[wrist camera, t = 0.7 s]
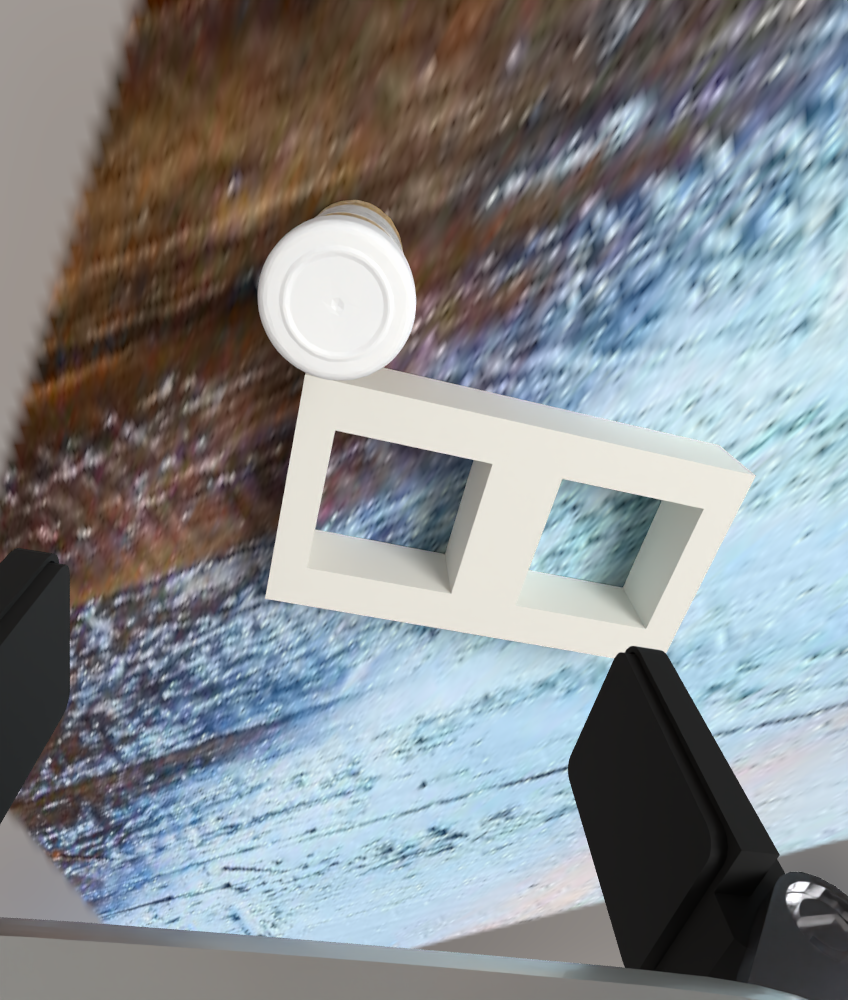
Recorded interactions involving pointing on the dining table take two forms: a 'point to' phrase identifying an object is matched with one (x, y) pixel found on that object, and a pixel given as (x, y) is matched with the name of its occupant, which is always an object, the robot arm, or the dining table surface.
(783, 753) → the dining table surface
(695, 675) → the dining table surface
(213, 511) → the dining table surface
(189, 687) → the dining table surface
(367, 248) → the sprinkles bottle
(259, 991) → the robot arm
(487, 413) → the condiment rack
